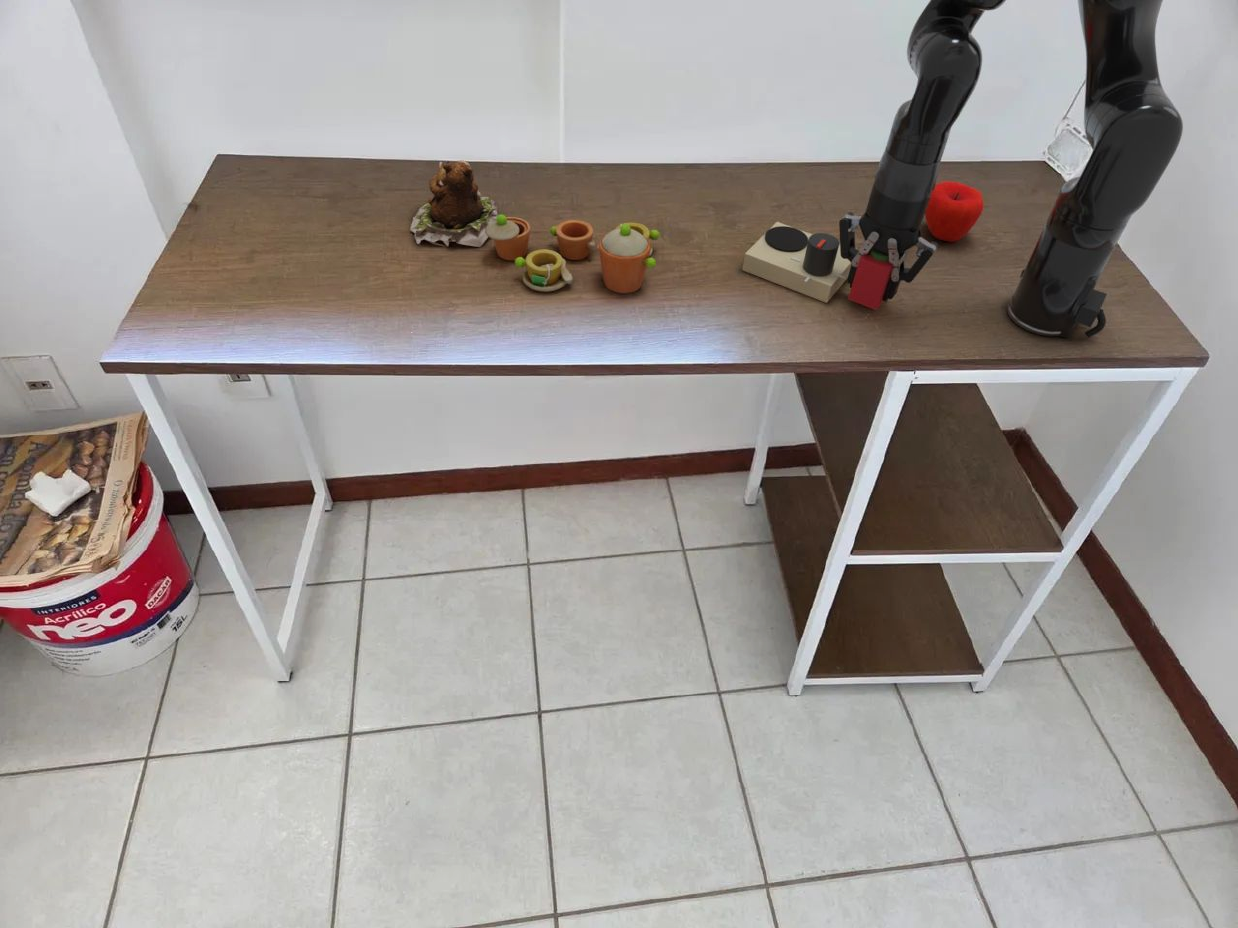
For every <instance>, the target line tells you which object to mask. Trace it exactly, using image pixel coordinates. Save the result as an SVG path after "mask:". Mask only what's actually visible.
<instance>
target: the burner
mask: <svg viewBox="0 0 1238 928" xmlns="http://www.w3.org/2000/svg"><path fill="white" fill-rule="evenodd" d="M792 227H793V226H790V227H786V226H779V227H774V228H771V227H770V228H771V229H770V228H769V229H768V230H767V231H766V232H765V233H766V234H765V233H764V234H765V241H766V243H767V244H768V245H769V246H770V247H772V248H774V249H776V250H779V251H783V252H798V251H801V250H803V249H805V248H806V247H807V244H808V237H807V236H806V234H804V233H803V232H802V231H803V230H802V231H800V230H801V229H799V228H797V227H796V228H795V227H793V228H792ZM798 229H799V230H798Z"/></svg>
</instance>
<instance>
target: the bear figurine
mask: <svg viewBox="0 0 1238 928" xmlns="http://www.w3.org/2000/svg"><path fill="white" fill-rule="evenodd" d="M473 171H474V169H473V168H472V167H471V165H470V163H469V162H468V161H466V160H464V159H461V160H457V161H455V162H453V163H451V162H450V161H447V162H446V163H444V164H443V162H442V161H439V162H438V170H437V173H436V174H434V175H433V176H432V177H431V178H430V180H429V182H428V187H429V191H430V192H431V193H432V194H433V195H432V196H430V197H429V198H428V201H427V203H425V204H424V205H422V206H420V207H419V209H418V210H417V212H416V214H415V215H414V216H413V217H412V220H411V221H412V222H411V225H410V228H409V230H410V232H411V233H414V239H415V242H416V244H417V245H420V244H421V241H423V240H425V241H427V242H429V243H430V244H433V245H437V246H442V247H445V246H446V247H449V245H450V242H456V244H459V245H464V246H471V247H477V248H481V247H482V245H484V243H485V242H486V241H487V239H488V238H489V237H488V236H487V235H486V233H485V228H486V227H487V225H488V224H490V223H491V222H493V221H495V220H496V219H497V216H498V215H499V214H498V208H497V202H496V201H494V200H492V199H491V198H490V197H488V196H482V194H481V192H480V191H479V186H478V184H477V183H476V182H475V181H474V180H475V179H474V178H475V176H474V173H473ZM438 241H442V242H443V244H441V243H437V242H438ZM444 244H445V245H444Z"/></svg>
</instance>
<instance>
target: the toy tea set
mask: <svg viewBox="0 0 1238 928" xmlns="http://www.w3.org/2000/svg"><path fill="white" fill-rule="evenodd" d="M549 232H550V235H551V236H552V237H556V240H557V244H558V250H559V253H558V252H557V251H554V250H551V249H544V248H543V249H537V250H534V251H531V252H529V253H528V248H529V241H530V233H531V225H530V223H529V222H528V221H527V220H525V219H523V218H521V217H516V216H506V215H505V214H498V216H497V219H496V220H495V221H493V222H491V223H490V224H488V225H487V227H486V228H485V233H486V235H487V236H488V238H490V239H492V240H493V242H494V247H495V250H496V254H497V255H498V257H500V258H501V259H503V260H506V261H514V265H515V266H516V268H518V269H522V268H524V267H526V269H525V270H524V271H523V273H522V280H523V283H524V284H525V285H526V286H527V287H528V288H529V289H531V290H534V291H538V292H552V291H558V290H559V289H561V288H563V287H565V285H568V284H572V283H573V281H574V279H573V275H572V273H570V271H569V270H568V268H567V267H566V266H567V261H566V260H565V259H567V260H570V261H571V260H572V261H577V260H582V259H585V258H587V257H588V256H589V254H590V253H591V249H595V250H596V252H597V253H599V259H600V267H601V273H602V279H603V280H602V281H603V283H604V286H605V287H606V288H607V289H608V290H609V291H611V292H614V293H618V294H630V293H634V292H636V291H638V290H639V289H640V288H641V287H642V286H643V283H644V279H645V275H646V271H647V268H648V269H654V268H655V267H656V265H657V261H656V259H655V258H654V257H651V255H652V254H653V245H652V243H651V242H650V240H652V241H656V240H658V239H659V238H660V232H659V230H656V229H652V230H649V228H648V227H647V226H645V225H644V224H642V223H639V222H631V221H630V222H624V223H621V222H620V223H619V224H618V225H617V226H616V227H615V228H614V230H610V231H609V232H608V233H606V234H605V235H603V236H602V237H601V239H600V240H599V241H598V244H596V241H592V240H593V236H594V227H593V226H592V225H591V224H590V223H588V222H586V221H583V220H579V219H569V220H563V221H562V222H560V223H558V224H557V225H553V226H552V227H550V230H549ZM526 255H527V256H526ZM525 256H526V257H525ZM524 257H525V258H524ZM564 258H565V259H564Z"/></svg>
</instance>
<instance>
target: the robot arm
mask: <svg viewBox="0 0 1238 928" xmlns="http://www.w3.org/2000/svg"><path fill="white" fill-rule="evenodd" d="M1006 1H1007V0H929V2H928V3H927V4H926V6H925V8H924V9H923V10H922V11H921V13H920V15H919V16H918V18H917V20H916V22H915V23H914V25H913V28H912V30H911V32H910V35H909V38H908V42H907V46H906V57H907V59H906V60H907V62H908V65H909V66H910V69H911V70H912V71H913V73H914V75H915V76H916V78H917V81H916V87H915V90H914V93H913V95H912V98H911V99H908V100H906V101H905V102H903V103H902V104H901V105H900V106H899V108H898V109H897V111H896V114H895V116H894V117H893V121H892V124H891V128H890V132H889V134H888V139H887V142H886V146H885V148H884V151H883V154H882V156H881V158H880V159H879V160H880V161H879V163H878V166H877V170H876V173H875V176H874V181H873V184H872V188H871V191H870V194H869V198H868V202H867V206H866V208H865V212H864V213H863V214H862V215H855V214H854V213H853V212H851V211H848V212H846V214H844V215H843V217H842V218H841V219H840V220H839V222H838V225H839V228H838V229H839V244H840V252H841V257H842V258H843V259H848V260H849V261H850V262H851V268H850V271H849V275H848V278H847V279H846V282H847V284H849V285H848V288H849V289H851V287H852V284H853V280H854V277H855V273H856V270H857V267H858V263H859V260H860V258H861V256H862V255H863V256H866V255H867V254H868V253H869V251H875V252H878V253H882V254H883V255H885V256H888V257H889V265H890V266H892V270H891V273H890V274H891V277H890V278H889V280H888V282H887V285H886V289H885V292H884V295H883V298H882V300H883V302H885V303H886V302H888V300H892V299H893V298H895V296H896V294H898V290H899V287H900V284H901V281H904V282H905V283H908V284H910V283H912V282H913V281H914V279H915V278H916V277H917V275H918V274H919V273H920V272H921V270H922V269H923V268H924V267H925V265H926V264H927V263H928V262H929V260H930V259H931V258H932V256H933V255H934V254H935V252H936V251H937V250H938V248H939V244H938V243H937V242H936V241H931V242H929V241H928V240H926V239H925V238H923V237H922V231H921V226H922V223H923V221H924V217H925V212H926V209H927V206H928V203H929V200H930V197H931V194H932V191H933V190H934V188H935V185H937V179H938V176H939V173H940V172H939V171H940V166H941V161H942V158H943V155H944V152H945V149H946V146H947V144H948V140H949V137H950V133H951V130H952V127H953V125H954V124H955V122H956V121H957V120H958V118H959V117H960V115H961V113H962V112H963V110H964V108H965V106H966V105H967V103H968V101H969V99H970V98H971V96H972V95H973V93H974V91H975V90H976V86H977V85H978V82H979V80H980V76H981V71H982V66H983V52H982V51H983V50H982V48H981V45H980V44H979V42H978V41H977V39H976V38H975V37H974V36H973V35H972V33H973V30H974V29H975V26H976V25H977V23H978V22H979V20H980V19H981V18H982V16H983V15H984V13H985V12H986V11H987V12H989V11H994V10H997V9H999V8H1000V7H1002V6H1003V5H1004V4H1005V2H1006ZM1163 2H1164V0H1077V5H1078V6H1077V7H1078V13H1079V20H1080V21H1079V22H1080V25H1081V31H1082V36H1083V37H1082V38H1083V41H1084V48H1085V89H1084V105H1083V106H1084V107H1083V129H1084V134H1085V137H1086V139H1087V141H1088V144H1089V146H1090V147H1091V149H1092V151H1091V154H1090V156H1089V158H1088V160H1087V162H1086V164H1085V165H1084V168H1083V170H1082V171H1081V174H1080V175H1079V176H1075V177H1073V178H1070V179H1068V180H1067V181H1066V182H1065V183H1064V184H1063V185H1062V187H1061V188H1060V190H1059V193H1058V195H1057V198H1056V199H1055V202H1054V204H1053V206H1052V209H1051V210H1050V213H1049V215H1048V218H1047V220H1046V222H1045V224H1044V227H1043V228H1042V231H1041V233H1040V235H1039V237H1038V239H1037V241H1036V244H1035V246H1034V249H1033V250H1032V253H1031V254H1030V256H1029V257H1030V258H1029V259H1028V262H1027V264H1026V266H1025V268H1024V269H1022V271H1021V273H1020V276H1019V278H1020V279H1019V282H1018V284H1017V286H1016V288H1015V291H1014V292H1013V294H1012V297H1011V299H1010V300H1009V302H1008V305H1007V307H1006V308H1007V309H1006V311H1007V314H1008V316H1009V318H1010V319H1011V320H1012V321H1013V322H1014V323H1015V324H1016V326H1019V327H1020V328H1022V329H1023V330H1026V331H1028V332H1030V333H1032V334H1036V335H1039V336H1044V337H1061V338H1064V339H1069V337H1070V335H1071V333H1072V330H1074V328H1075V325H1076V323H1077V324H1080V325H1083V326H1085V327H1089V329H1088V330H1086V331H1085V332H1084V335H1085V337H1087V338H1088V339H1089V338H1091V337H1093V336H1095V335H1097V334H1099V333H1100V332H1101V331H1102V330H1103V329H1104V328H1105V326H1106V323H1107V317H1106V314H1105V312H1104V309H1102V306H1103V304H1104V303H1105V300H1106V298H1107V296H1108V293H1105V292H1102V291H1100V290H1097V289H1095V287H1096V285H1097V283H1098V281H1099V279H1100V277H1101V275H1102V273H1103V271H1104V269H1105V267H1106V266H1107V263H1108V261H1109V260H1110V257H1111V256H1112V253H1113V251H1114V250H1115V247H1116V246H1117V244H1118V242H1119V240H1120V238H1121V237H1122V235H1123V232H1124V231H1125V229H1126V227H1127V225H1128V223H1129V221H1130V220H1131V218H1132V216H1133V215H1134V214H1135V213H1137V212H1138V211H1139V210H1140V209H1141V208H1142V207H1143V206H1144V204H1145V203H1146V202H1147V201H1148V200H1149V198H1150V197H1151V195H1152V193H1154V189H1156V187H1157V184H1158V183H1159V182H1160V180H1161V178H1162V176H1163V174H1164V173H1165V171H1166V170H1167V168H1168V167H1169V165H1170V163H1171V161H1172V159H1173V158H1174V155H1175V154H1176V152H1177V149H1178V147H1179V145H1180V142H1181V140H1182V135H1183V132H1184V131H1183V130H1184V123H1183V119H1182V116H1181V114H1180V112H1179V111H1178V109H1177V108H1176V106H1175V105H1174V103H1173V102H1172V101H1171V99H1170V97H1169V96H1168V95H1167V94H1166V92H1165V90H1164V88H1163V85H1162V82H1161V78H1160V72H1159V66H1158V57H1157V49H1156V48H1157V46H1156V28H1157V22H1158V17H1159V13H1160V10H1161V7H1162V4H1163ZM858 227H859V228H860V231H861V234H862V237H863V239H864V242H863V244H862V245H861V247H860V248H859V250H858V249H857V248H856V231H857V230H858ZM914 246H916V251H915V254H916V257H917V259H916V261H914V263H913V264H912V265H911V267H906V258H907V251H908V250H910V249H911V248H913V247H914ZM1096 318H1097V323H1096V325H1095V326H1094V327H1092V326H1093V325H1094V322H1095V321H1096Z"/></svg>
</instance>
